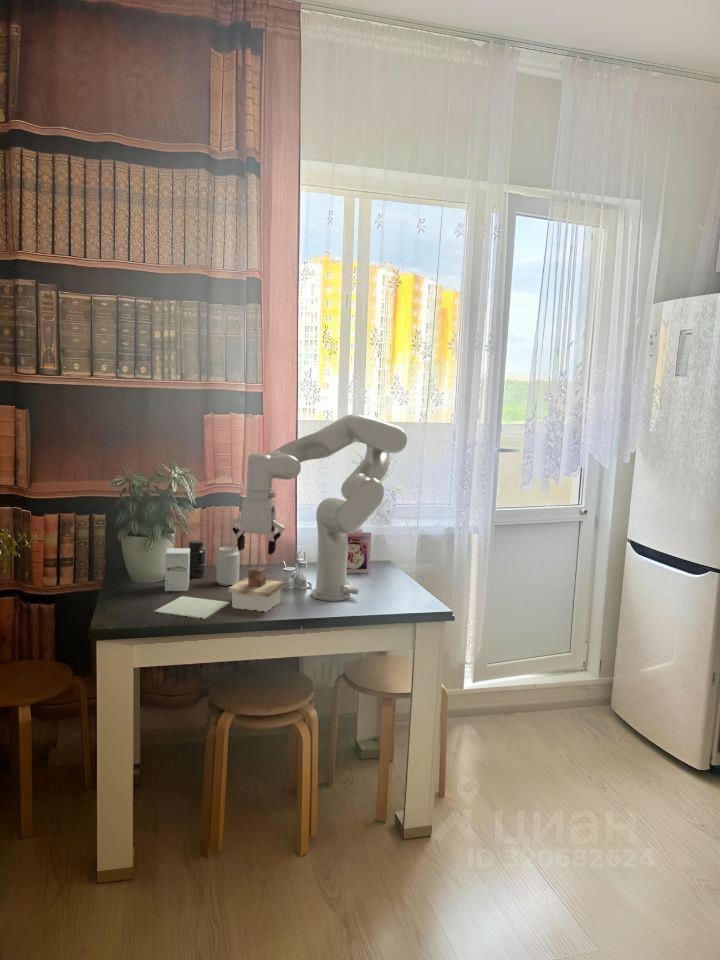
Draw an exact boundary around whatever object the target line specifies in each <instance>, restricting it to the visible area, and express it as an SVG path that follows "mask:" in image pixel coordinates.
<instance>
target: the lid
mask: <svg viewBox="0 0 720 960" xmlns="http://www.w3.org/2000/svg"><path fill="white" fill-rule="evenodd" d="M247 576H248V577H244V578H243V579H241V580H239V582H237V583H236V584H234V585H232V586H228V587H227V593H240V594H248V595H256V596H264V597H270V596H271V595H272V594H274V593H275V592H277V591H278V590H279V589H280V590H281V589H283V588H284V587H285V586H286V585H285V584H286V582H285V581H280V580H271V579H267V568H266V567H260V566H252V567H251V568H249V569H248V574H247Z"/></svg>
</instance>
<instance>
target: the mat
mask: <svg viewBox="0 0 720 960" xmlns="http://www.w3.org/2000/svg"><path fill="white" fill-rule="evenodd" d="M227 604H228V605H229V604H230V602H229V601H223V600H214V599H208V598H199V597H198V598H197V597H192V596H186V595H185V596H184V595H182V596H179V597H178V598H176V599H174V600H172V601H170V602H168V603H166V604H164V605H163V606H161V607H160V608H159V607H158V608H157V609H154V613H156V612H158V614H164V613H165V614H164V615H171V614H173V615H172V616H178V615H179V616H180V617H185V616H187V618H194V619H200V618H202V619H203V620H206V619H208V618H209V617H210V615H211V616H212V615H214V614H216V613H217V612H218V611H220V610H222V609H223V608H225V607H226V606H228V605H227ZM221 608H222V609H221ZM179 616H178V617H179ZM207 617H208V618H207ZM202 619H201V620H202Z"/></svg>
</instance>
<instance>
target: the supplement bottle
mask: <svg viewBox="0 0 720 960" xmlns="http://www.w3.org/2000/svg"><path fill="white" fill-rule="evenodd" d="M187 547H188V548H190V569H189V579H191V578H192V579H199V578H204V577H206V561H207V560H206V558H207V551H206V550H205V548H204V541H202V540H198V539H197V540H196V539H195V540H190V541H188V546H187Z"/></svg>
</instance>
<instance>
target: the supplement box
mask: <svg viewBox="0 0 720 960" xmlns="http://www.w3.org/2000/svg"><path fill="white" fill-rule="evenodd" d="M165 551H166V552H165V561H164V563H165V566H164V567H165V570H164V592H189V587H190V578H189V569H190V548H189V547H188V548H187V547H185V548H181V547H180V548H179V547H178V548H177V547H172V548H171V547H167V548H166V550H165Z"/></svg>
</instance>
